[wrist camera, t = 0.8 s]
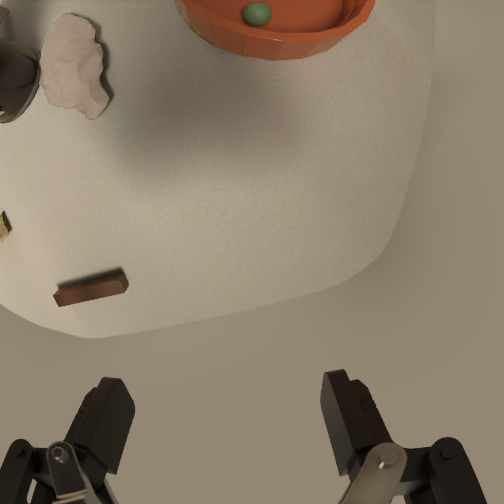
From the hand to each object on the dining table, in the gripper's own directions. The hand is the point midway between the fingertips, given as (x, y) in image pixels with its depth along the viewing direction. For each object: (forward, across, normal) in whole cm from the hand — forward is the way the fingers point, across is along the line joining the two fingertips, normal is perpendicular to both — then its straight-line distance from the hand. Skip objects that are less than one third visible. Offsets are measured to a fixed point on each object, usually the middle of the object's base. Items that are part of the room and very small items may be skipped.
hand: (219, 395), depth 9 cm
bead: (+15, -4, -22) cm, 27 cm away
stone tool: (+17, +14, -21) cm, 30 cm away
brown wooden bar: (+17, +16, +3) cm, 24 cm away
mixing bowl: (+17, -5, -26) cm, 32 cm away
